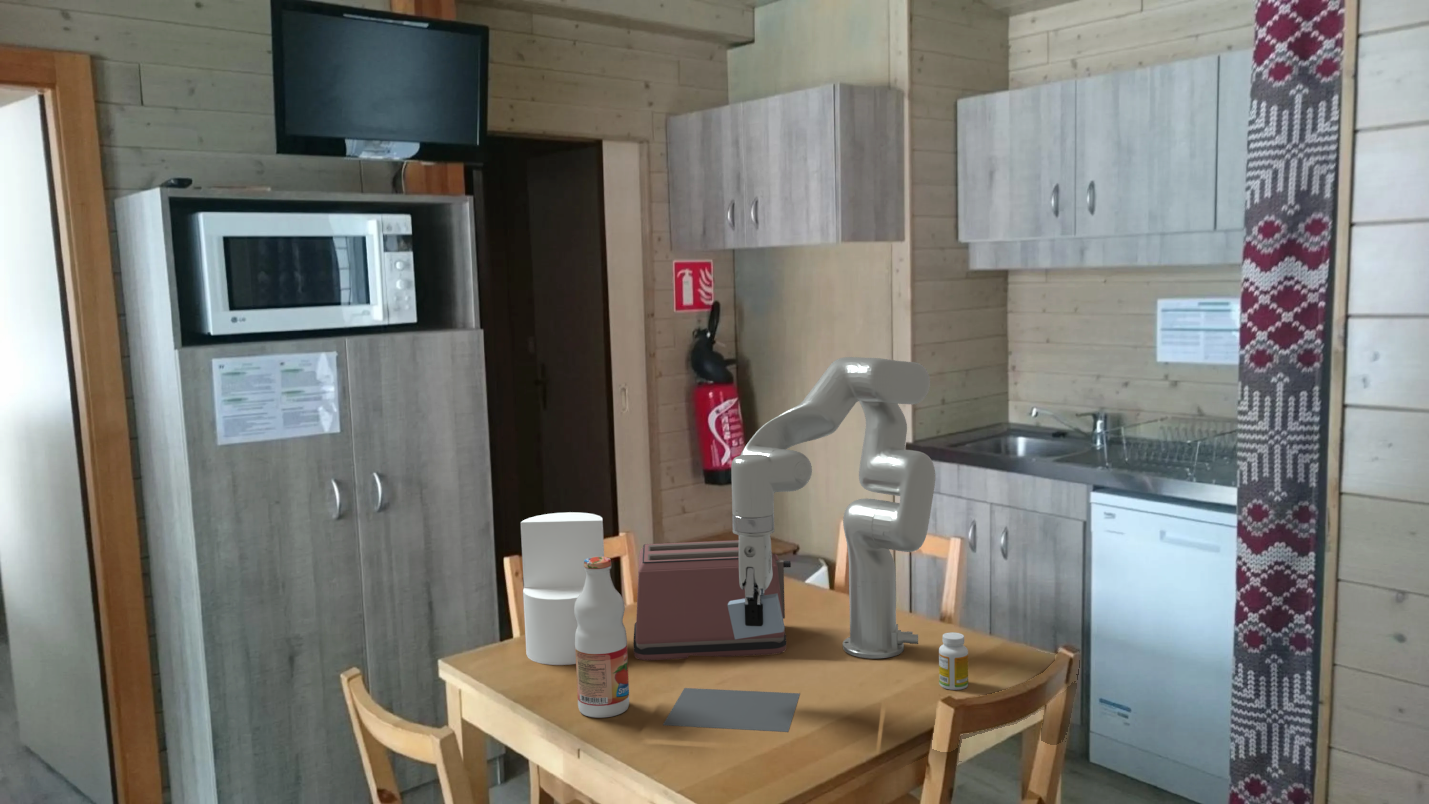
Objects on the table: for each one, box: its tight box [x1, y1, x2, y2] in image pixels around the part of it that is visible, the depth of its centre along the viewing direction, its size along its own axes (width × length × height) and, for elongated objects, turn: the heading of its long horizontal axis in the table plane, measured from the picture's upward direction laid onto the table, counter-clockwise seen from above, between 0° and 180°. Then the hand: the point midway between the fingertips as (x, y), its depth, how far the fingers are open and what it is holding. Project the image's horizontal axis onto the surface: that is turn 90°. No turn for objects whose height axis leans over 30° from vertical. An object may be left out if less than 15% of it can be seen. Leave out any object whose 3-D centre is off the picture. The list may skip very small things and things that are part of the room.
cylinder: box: [520, 511, 605, 666], centre depth 228 cm, size 17×17×28 cm
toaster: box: [632, 539, 792, 661], centre depth 231 cm, size 19×34×20 cm, turn 93°
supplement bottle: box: [938, 632, 969, 691], centre depth 203 cm, size 5×5×10 cm
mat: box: [662, 687, 801, 733], centre depth 194 cm, size 22×17×1 cm
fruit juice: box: [574, 556, 630, 719], centre depth 196 cm, size 9×9×28 cm
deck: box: [728, 594, 786, 639], centre depth 196 cm, size 9×2×6 cm, turn 79°
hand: (755, 622), depth 196 cm, fingers closed on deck, 2 cm apart
